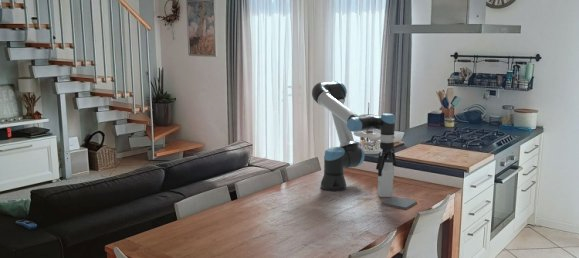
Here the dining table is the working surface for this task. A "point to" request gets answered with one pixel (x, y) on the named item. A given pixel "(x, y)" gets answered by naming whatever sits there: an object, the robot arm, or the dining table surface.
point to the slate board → (399, 202)
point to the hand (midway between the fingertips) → (386, 179)
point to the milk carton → (386, 181)
